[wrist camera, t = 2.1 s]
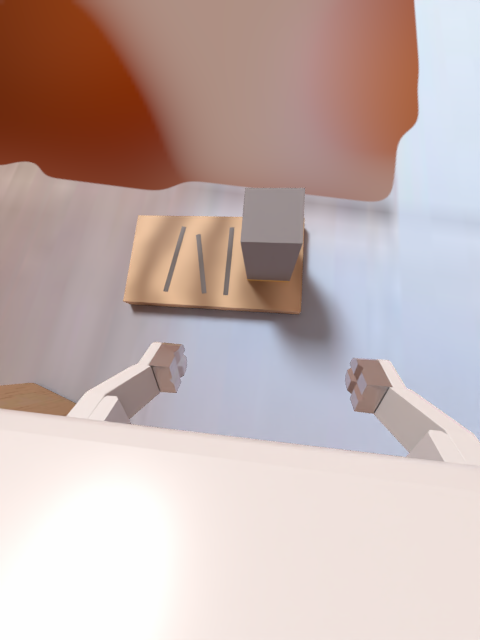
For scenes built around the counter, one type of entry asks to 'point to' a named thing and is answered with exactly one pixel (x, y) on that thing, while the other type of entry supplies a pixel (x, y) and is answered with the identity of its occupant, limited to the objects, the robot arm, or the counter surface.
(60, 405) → the wooden block
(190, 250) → the board
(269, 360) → the counter surface
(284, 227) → the block
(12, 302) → the counter surface
